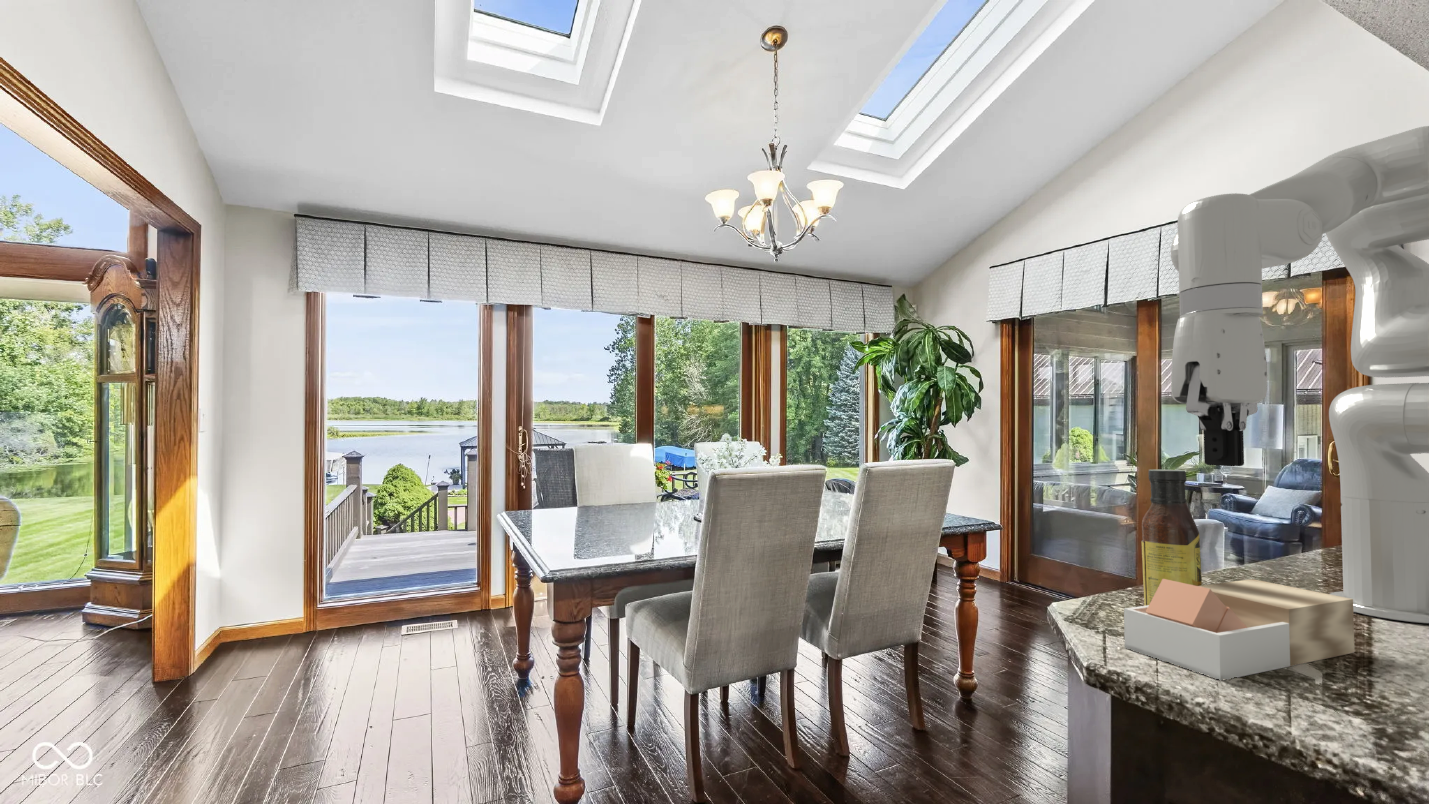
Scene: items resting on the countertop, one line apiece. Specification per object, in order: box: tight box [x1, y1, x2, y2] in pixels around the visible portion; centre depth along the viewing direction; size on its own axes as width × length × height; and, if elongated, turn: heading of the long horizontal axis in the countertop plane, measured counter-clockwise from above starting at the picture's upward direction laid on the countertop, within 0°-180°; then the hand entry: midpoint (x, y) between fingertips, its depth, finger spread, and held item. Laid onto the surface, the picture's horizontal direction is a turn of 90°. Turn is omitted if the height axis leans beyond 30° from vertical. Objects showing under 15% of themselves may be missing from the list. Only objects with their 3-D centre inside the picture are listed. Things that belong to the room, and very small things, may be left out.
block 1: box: [1146, 579, 1227, 633], centre depth 70 cm, size 4×5×4 cm
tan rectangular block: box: [1199, 578, 1356, 667], centre depth 75 cm, size 12×10×6 cm
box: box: [1123, 605, 1291, 681], centre depth 71 cm, size 12×10×4 cm
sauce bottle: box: [1141, 468, 1203, 606], centre depth 83 cm, size 6×6×20 cm
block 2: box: [1216, 607, 1247, 633], centre depth 71 cm, size 4×5×4 cm
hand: (1223, 465), depth 73 cm, fingers closed
